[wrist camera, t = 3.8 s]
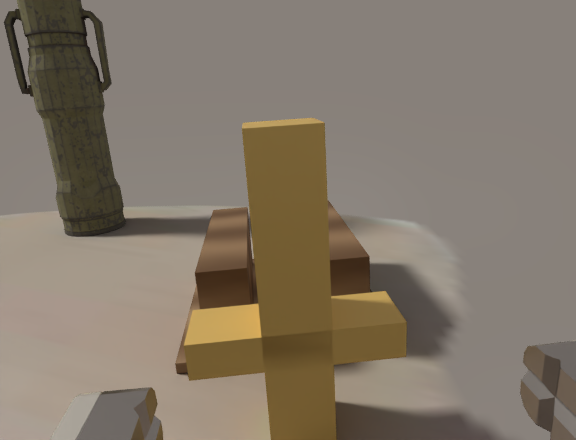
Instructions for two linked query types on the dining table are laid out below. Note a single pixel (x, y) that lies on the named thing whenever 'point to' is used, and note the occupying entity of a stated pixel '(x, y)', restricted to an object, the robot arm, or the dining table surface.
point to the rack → (241, 268)
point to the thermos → (70, 109)
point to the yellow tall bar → (292, 292)
